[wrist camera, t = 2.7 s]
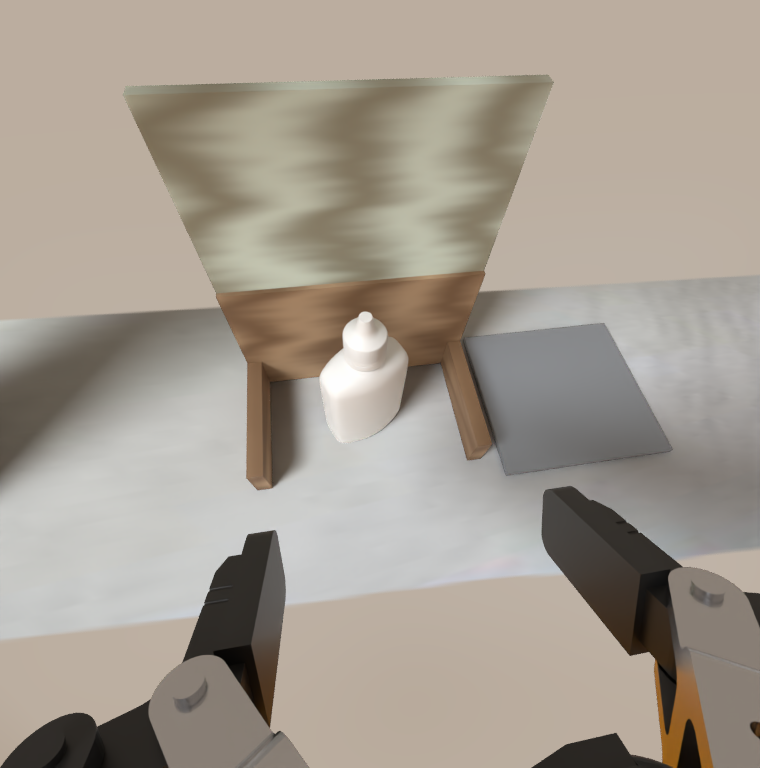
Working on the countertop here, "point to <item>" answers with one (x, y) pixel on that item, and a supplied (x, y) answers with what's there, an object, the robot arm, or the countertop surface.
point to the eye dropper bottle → (363, 380)
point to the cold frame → (343, 215)
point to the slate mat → (561, 399)
